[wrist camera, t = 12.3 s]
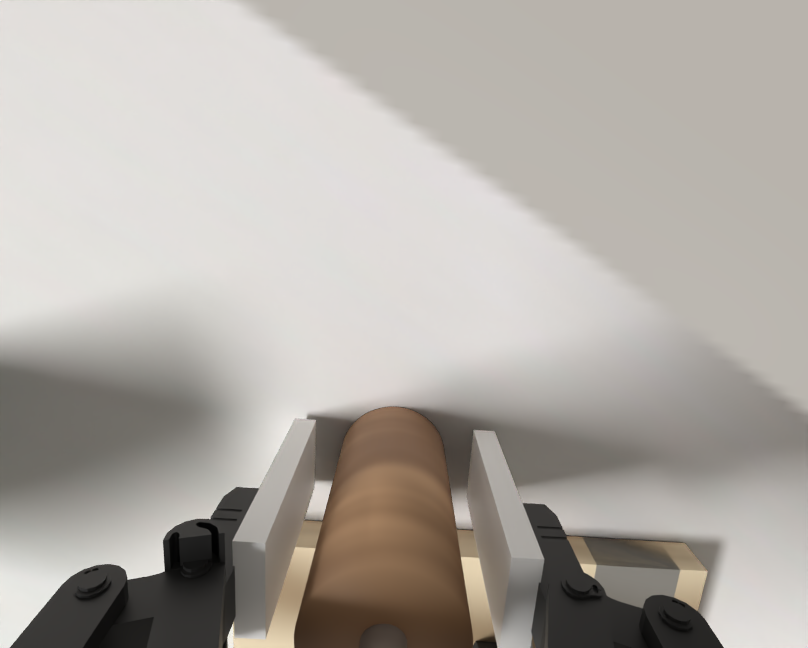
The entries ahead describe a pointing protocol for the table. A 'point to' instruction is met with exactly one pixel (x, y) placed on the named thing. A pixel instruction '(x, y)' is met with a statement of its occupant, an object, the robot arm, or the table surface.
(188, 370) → the table surface
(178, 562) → the robot arm
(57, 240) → the table surface
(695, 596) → the board
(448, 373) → the table surface
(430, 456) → the awl
